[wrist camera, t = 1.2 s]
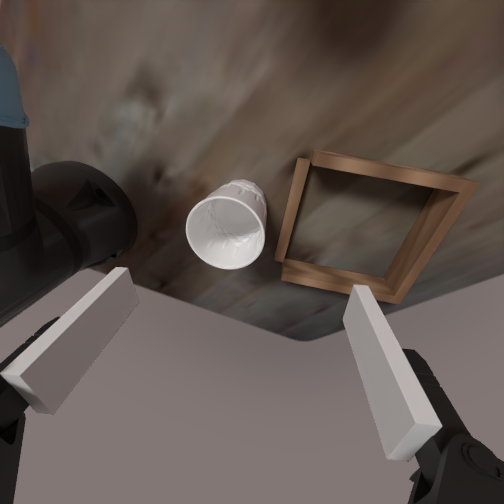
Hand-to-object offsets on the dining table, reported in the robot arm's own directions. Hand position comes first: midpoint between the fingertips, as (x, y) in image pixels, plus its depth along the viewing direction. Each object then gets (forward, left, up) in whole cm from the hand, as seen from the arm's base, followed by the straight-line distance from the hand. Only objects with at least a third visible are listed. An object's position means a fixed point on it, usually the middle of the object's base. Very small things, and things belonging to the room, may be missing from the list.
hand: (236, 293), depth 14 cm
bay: (+12, -1, -19) cm, 23 cm away
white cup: (-3, -1, -19) cm, 20 cm away
